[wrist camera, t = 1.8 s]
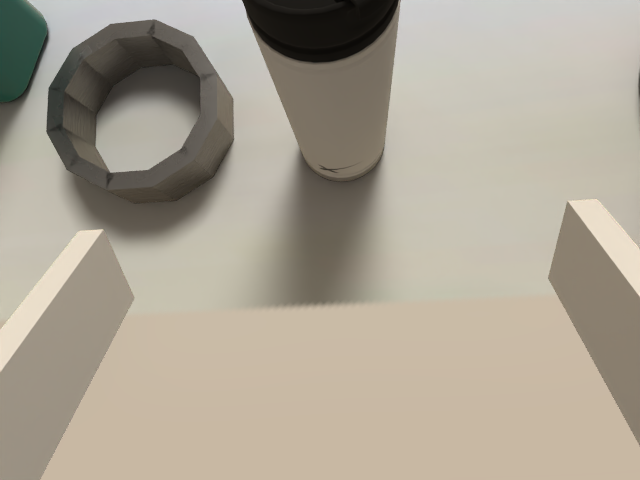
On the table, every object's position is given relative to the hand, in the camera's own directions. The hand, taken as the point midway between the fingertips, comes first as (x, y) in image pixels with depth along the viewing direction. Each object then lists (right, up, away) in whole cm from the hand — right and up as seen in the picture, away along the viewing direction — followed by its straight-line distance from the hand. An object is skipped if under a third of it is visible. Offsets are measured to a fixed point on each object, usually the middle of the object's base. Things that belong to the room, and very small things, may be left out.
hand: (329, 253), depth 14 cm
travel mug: (+2, +8, +21) cm, 23 cm away
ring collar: (-13, +9, +23) cm, 28 cm away
